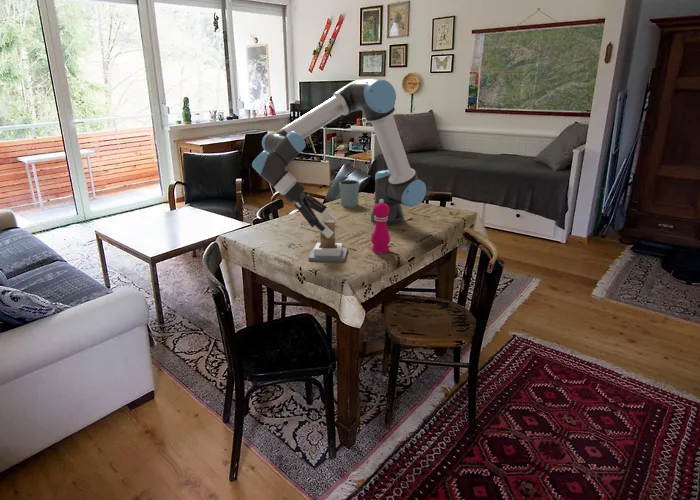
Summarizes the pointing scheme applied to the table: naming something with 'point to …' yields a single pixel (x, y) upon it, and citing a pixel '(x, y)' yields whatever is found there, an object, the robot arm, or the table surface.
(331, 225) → the wooden slat
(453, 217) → the table surface
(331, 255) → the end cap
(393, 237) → the table surface
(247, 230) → the table surface
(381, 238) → the pepper mill
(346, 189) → the blue-grey cup
